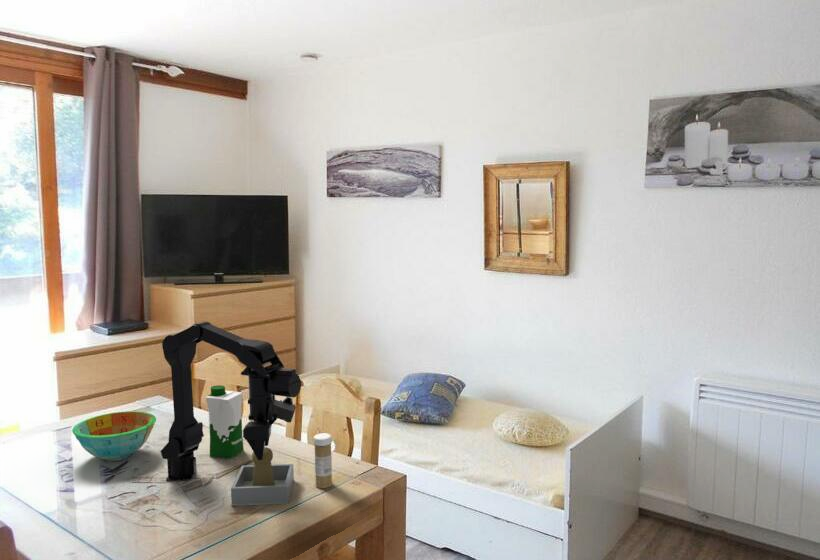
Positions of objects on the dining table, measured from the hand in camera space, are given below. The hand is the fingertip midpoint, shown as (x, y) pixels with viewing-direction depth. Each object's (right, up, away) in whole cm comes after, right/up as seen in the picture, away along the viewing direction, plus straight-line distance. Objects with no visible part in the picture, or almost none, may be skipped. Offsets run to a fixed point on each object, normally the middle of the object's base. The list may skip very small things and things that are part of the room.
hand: (263, 452), depth 161 cm
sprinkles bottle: (+15, -10, +5) cm, 19 cm away
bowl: (-49, -8, +26) cm, 56 cm away
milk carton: (-17, -8, +27) cm, 33 cm away
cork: (0, -10, +1) cm, 10 cm away
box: (0, -11, +1) cm, 11 cm away
